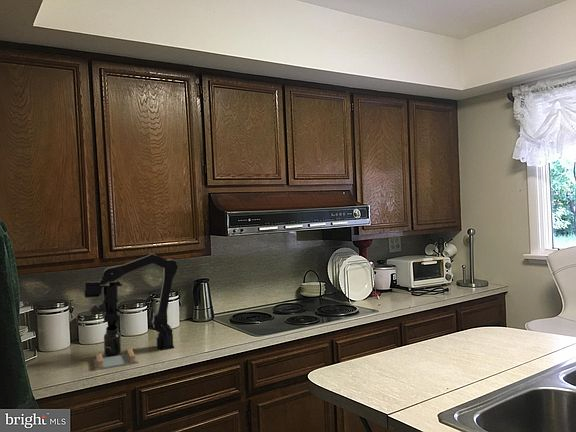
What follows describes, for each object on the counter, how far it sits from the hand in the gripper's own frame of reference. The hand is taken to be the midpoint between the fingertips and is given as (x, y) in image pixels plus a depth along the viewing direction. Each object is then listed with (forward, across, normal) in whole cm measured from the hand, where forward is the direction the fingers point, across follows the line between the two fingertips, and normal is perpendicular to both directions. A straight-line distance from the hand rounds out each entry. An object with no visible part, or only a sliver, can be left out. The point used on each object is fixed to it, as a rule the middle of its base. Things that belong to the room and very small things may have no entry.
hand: (110, 332), depth 203 cm
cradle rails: (+9, +13, +1) cm, 16 cm away
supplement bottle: (+9, +2, +1) cm, 9 cm away
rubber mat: (+9, +13, +1) cm, 16 cm away
